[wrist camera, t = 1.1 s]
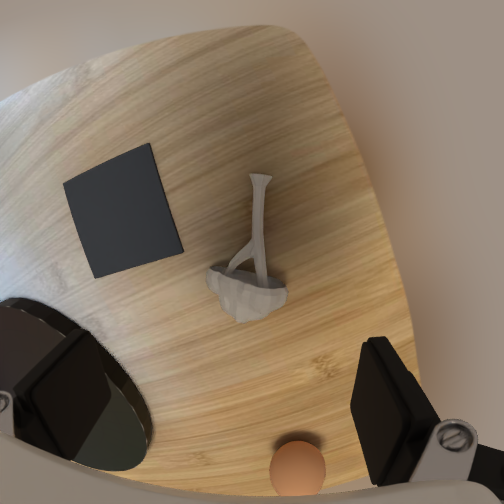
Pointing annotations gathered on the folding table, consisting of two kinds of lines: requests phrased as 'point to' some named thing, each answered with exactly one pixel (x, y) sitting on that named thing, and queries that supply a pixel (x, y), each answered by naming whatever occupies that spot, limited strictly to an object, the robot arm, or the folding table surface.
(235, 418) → the folding table surface
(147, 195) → the coaster
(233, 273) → the mushroom
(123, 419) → the disc
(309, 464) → the egg
